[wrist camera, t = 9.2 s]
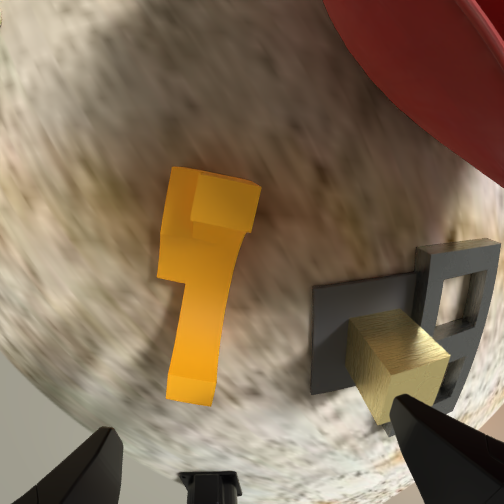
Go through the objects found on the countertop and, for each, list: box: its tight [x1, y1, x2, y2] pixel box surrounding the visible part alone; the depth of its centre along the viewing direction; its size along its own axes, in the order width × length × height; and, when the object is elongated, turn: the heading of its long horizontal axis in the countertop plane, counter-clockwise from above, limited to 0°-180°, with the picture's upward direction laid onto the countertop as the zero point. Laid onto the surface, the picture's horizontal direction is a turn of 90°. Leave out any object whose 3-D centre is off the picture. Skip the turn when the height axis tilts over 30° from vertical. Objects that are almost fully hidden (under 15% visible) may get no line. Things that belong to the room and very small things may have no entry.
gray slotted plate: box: [382, 238, 501, 437], centre depth 22 cm, size 20×9×2 cm, turn 5°
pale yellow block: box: [345, 308, 450, 425], centre depth 18 cm, size 4×4×7 cm
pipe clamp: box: [157, 167, 262, 407], centre depth 16 cm, size 12×4×6 cm, turn 167°
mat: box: [311, 272, 417, 395], centre depth 22 cm, size 10×10×1 cm
